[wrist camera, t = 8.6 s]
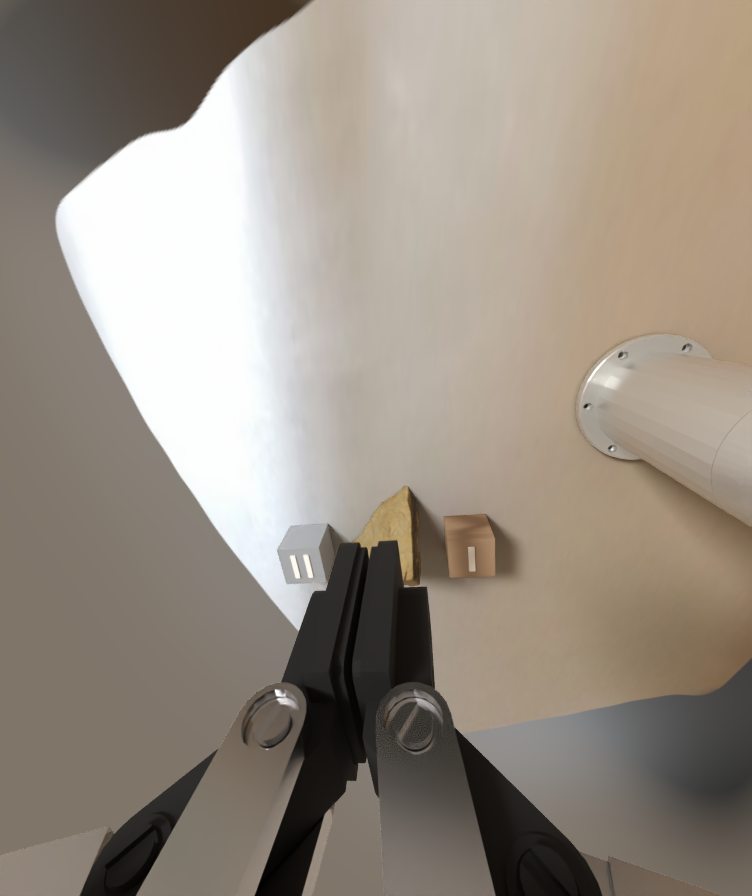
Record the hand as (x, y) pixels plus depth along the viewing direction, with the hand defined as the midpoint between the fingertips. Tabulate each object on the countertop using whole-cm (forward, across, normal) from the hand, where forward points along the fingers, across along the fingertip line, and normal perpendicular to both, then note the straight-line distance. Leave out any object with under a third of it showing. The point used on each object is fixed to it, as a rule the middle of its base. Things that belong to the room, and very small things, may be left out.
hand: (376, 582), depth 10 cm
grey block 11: (+29, +14, +19) cm, 37 cm away
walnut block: (+29, -6, +19) cm, 35 cm away
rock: (+29, +4, +17) cm, 34 cm away
